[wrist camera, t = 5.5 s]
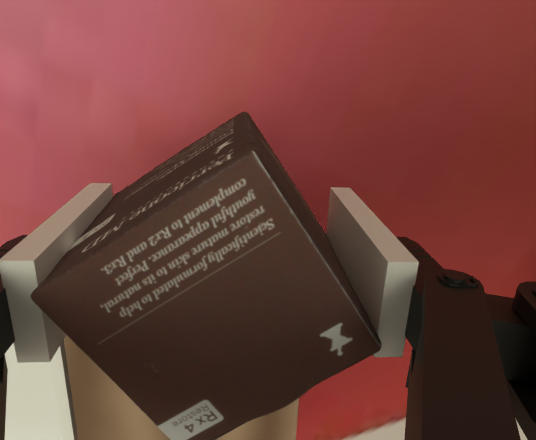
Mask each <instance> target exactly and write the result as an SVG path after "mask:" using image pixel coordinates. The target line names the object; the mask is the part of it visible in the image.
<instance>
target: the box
mask: <svg viewBox="0 0 536 440" xmlns="http://www.w3.org/2000/svg"><path fill="white" fill-rule="evenodd" d="M30 297H31V299H32V301H33V302H34V303H35V304H36V305H37V306H38V307H39V308H40V309H41V310H42V311H43V312H44V313H45V314H46V315H47V316H48V317H49V318H50V319H51V320H52V321H53V322H54V323H55V324H56V325H57V326H58V327H59V328H60V329H61V330H62V331H63V332H64V333H65V334H66V335H67V336H68V337H69V338H70V339H71V340H72V341H73V342H74V343H75V344H76V345H77V346H78V347H79V348H80V349H81V350H82V351H83V352H84V353H85V354H86V355H87V356H88V357H89V358H90V359H91V360H92V361H93V362H94V363H95V364H96V365H97V366H98V367H99V368H100V369H101V370H102V371H103V372H104V373H105V374H106V375H107V376H108V377H109V378H110V379H111V380H112V381H113V382H115V384H116V385H117V386H118V387H119V388H120V389H121V390H122V391H123V392H124V393H125V394H126V395H127V396H128V397H129V398H130V399H131V400H132V401H133V402H134V403H135V404H136V405H137V406H138V407H139V408H140V410H142V411H143V412H144V413H145V414H146V415H147V416H148V417H149V418H150V419H151V420H152V421H153V423H154V424H155V425H156V426H157V427H158V428H159V429H160V430H161V431H162V432H163V433H164V434H165V435H166V436H167V437H168V438H169V439H171V440H216V439H218V438H220V437H222V436H224V435H225V434H227V433H229V432H231V431H232V430H234V429H235V428H238V427H239V426H241V425H243V424H245V423H247V422H249V421H251V420H253V419H256V418H259V417H261V416H265V415H268V414H270V413H273V412H275V411H278V410H280V409H282V408H284V407H286V406H288V405H289V404H291V403H292V402H294V401H295V400H297V399H298V398H300V397H301V396H302V395H303V394H304V393H306V392H307V391H308V390H309V389H310V388H312V387H313V386H315V385H316V384H318V383H320V382H322V381H324V380H326V379H327V378H329V377H331V376H333V375H335V374H337V373H339V372H341V371H343V370H345V369H346V368H348V367H350V366H352V365H354V364H356V363H358V362H360V361H362V360H363V359H365V358H367V357H369V356H371V355H373V354H375V353H377V352H379V351H380V349H381V346H382V345H381V341H380V338H379V336H378V334H377V332H376V330H375V328H374V327H373V325H372V323H371V321H370V319H369V316H368V314H367V312H366V311H365V309H364V307H363V305H362V304H361V302H360V300H359V298H358V296H357V295H356V293H355V291H354V289H353V288H352V286H351V283H350V281H349V280H348V278H347V276H346V274H345V271H344V269H343V268H342V266H341V263H340V262H339V259H338V257H337V256H336V253H335V251H334V249H333V247H332V245H331V243H330V241H329V239H328V238H327V236H326V234H325V232H324V231H323V229H322V227H321V226H320V224H319V223H318V221H317V219H316V218H315V216H314V214H313V213H312V211H311V210H310V208H309V207H308V205H307V203H306V202H305V200H304V199H303V197H302V195H301V194H300V192H299V191H298V189H297V187H296V186H295V184H294V183H293V181H292V180H291V178H290V177H289V175H288V174H287V172H286V170H285V169H284V167H283V166H282V164H281V163H280V161H279V160H278V158H277V156H276V155H275V154H274V152H273V151H272V149H271V148H270V146H269V144H268V143H267V141H266V140H265V138H264V137H263V135H262V134H261V132H260V131H259V129H258V128H257V126H256V125H255V123H254V122H253V120H252V118H251V117H250V115H249V114H248V113H247V112H242V113H240V114H238V115H237V116H235V117H234V118H232V119H230V120H229V121H227V122H226V123H224V124H222V125H221V126H219V127H218V128H216V129H215V130H213V131H211V132H210V133H208V134H207V135H206V136H204V137H202V138H200V139H199V140H197V141H196V142H194V143H192V144H191V145H190V146H188V147H186V148H184V149H182V150H181V151H180V152H178V153H177V154H176V155H174V156H173V157H171V158H170V159H168V160H167V161H165V162H164V163H162V164H160V165H159V166H157V167H156V168H154V169H153V170H152V171H150V172H149V173H147V174H146V175H144V176H142V177H141V178H140V179H138V180H137V181H136V182H134V183H133V184H131V185H130V186H127V187H126V188H125V189H123V190H122V191H120V192H118V193H117V194H115V195H114V197H113V198H112V199H111V200H110V202H109V203H108V204H107V205H106V206H105V208H104V209H103V210H102V211H101V212H100V213H99V214H98V215H97V216H96V218H95V219H94V220H93V222H92V223H91V224H90V225H89V226H88V228H87V229H86V230H85V231H84V232H83V234H82V235H81V236H80V237H79V238H78V240H77V241H76V242H75V243H74V244H73V245H72V247H71V248H70V249H69V250H68V251H67V252H66V254H65V255H64V256H63V257H62V259H61V260H60V261H59V263H58V264H57V265H56V266H55V267H54V269H53V271H52V272H51V273H50V274H49V275H48V276H47V277H46V279H45V280H44V281H43V282H42V283H41V284H40V285H39V286H38V287H37V288H36V289H35V290H34V291H33V292H32V293H31V295H30Z"/></svg>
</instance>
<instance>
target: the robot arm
mask: <svg viewBox="0 0 536 440" xmlns="http://www.w3.org/2000/svg"><path fill="white" fill-rule="evenodd" d="M112 198H113V191H112V183H90V184H89V185H88V186H86V187H85V188H84V189H83V190H82V191H80V192H79V193H78V194H77V195H76V196H74V197H73V198H72V199H71V200H70V201H68V202H67V203H66V204H65V205H64V206H62V207H61V208H60V209H59V210H58V211H57V212H55V213H54V214H53V215H52V216H51V217H49V218H48V219H47V220H46V221H45V222H43V223H42V224H41V225H40V226H39V227H37V228H36V229H35V230H34V231H33V232H32V233H30V234H29V235H22V236H19V237H17V238H15V239H12V240H10V241H8V242H6V243H5V244H4V245H2V246H1V247H0V440H5V419H6V397H7V374H8V369H7V364H6V359H5V353H6V352H7V350H8V349H9V348H10V346H11V345H12V344H13V343H14V346H15V352H16V357H17V362H18V363H23V362H50V361H51V360H52V358H53V356H54V355H55V353H56V351H57V350H58V348H59V347H60V345H61V343H62V342H63V340H64V338H65V337H66V334H65V333H64V332H63V331H62V330H61V329H60V328H59V327H58V326H57V325H56V324H55V323H54V322H53V321H52V320H51V319H50V318H49V317H48V316H47V315H46V314H45V313H44V312H43V311H42V310H41V309H40V308H39V307H38V306H37V305H36V304H35V303H34V302H33V301H32V299H31V297H30V295H31V293H32V292H33V291H34V290H35V289H36V288H37V287H38V286H39V285H40V284H41V283H42V282H43V281H44V280H45V279H46V277H47V276H48V275H49V274H50V273H51V272H52V271H53V269H54V267H55V266H56V265H57V264H58V263H59V261H60V260H61V259H62V257H63V256H64V255H65V254H66V252H67V251H68V250H69V249H70V248H71V247H72V245H73V244H74V243H75V242H76V241H77V240H78V238H79V237H80V236H81V235H82V234H83V232H84V231H85V230H86V229H87V228H88V226H89V225H90V224H91V223H92V222H93V220H94V219H95V218H96V216H97V215H98V214H99V213H100V212H101V211H102V210H103V209H104V208H105V206H106V205H107V204H108V203H109V202H110V200H111V199H112ZM326 236H327V238H328V239H329V241H330V243H331V245H332V247H333V249H334V251H335V253H336V256H337V257H338V259H339V262H340V263H341V266H342V268H343V269H344V271H345V274H346V276H347V278H348V280H349V281H350V283H351V286H352V288H353V289H354V291H355V293H356V295H357V296H358V298H359V300H360V302H361V304H362V305H363V307H364V309H365V311H366V312H367V314H368V316H369V319H370V321H371V323H372V325H373V327H374V328H375V330H376V332H377V334H378V336H379V338H380V341H381V345H382V346H381V349H380V351H379V352H377V353H375V354H373V356H374V357H403V351H404V345H405V339H406V338H407V339H408V341H409V342H410V344H411V346H412V347H413V349H412V355H411V360H410V366H409V371H408V377H407V382H406V387H407V388H408V399H407V413H406V428H405V440H520V435H519V431H518V428H517V423H516V420H517V422H518V423H519V425H520V427H521V429H522V430H523V432H524V434H525V436H526V437H527V439H528V440H536V282H524V283H520V284H519V285H518V287H517V291H516V294H515V298H509V297H503V296H497V295H490V294H486V293H485V292H484V288H483V285H482V284H481V282H480V281H479V280H477V279H476V278H474V277H473V276H470V275H468V274H466V273H463V272H459V271H455V270H448V269H443V268H442V267H441V266H440V265H439V264H438V263H437V262H436V261H435V260H434V259H433V258H431V256H430V255H429V254H428V253H427V252H425V250H424V249H423V248H422V247H421V246H420V245H419V244H418V243H416V242H414V241H412V240H410V239H408V238H406V237H395V236H394V235H393V234H392V232H391V231H390V230H389V229H388V228H387V227H386V226H385V225H384V224H383V223H382V222H381V221H380V219H379V218H378V217H377V216H376V215H375V214H374V213H373V212H372V211H371V210H370V209H369V208H368V207H367V205H366V204H365V203H364V202H363V201H362V200H361V199H360V198H359V197H358V196H357V195H356V194H355V193H354V191H353V190H352V189H351V188H341V187H330V198H329V209H328V220H327V231H326ZM515 418H516V419H515Z"/></svg>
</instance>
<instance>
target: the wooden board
mask: <svg viewBox="0 0 536 440" xmlns="http://www.w3.org/2000/svg"><path fill="white" fill-rule="evenodd" d="M64 346H65V353H66V359H67V366H68V373H69V380H70V387H71V393H72V400H73V407H74V414H75V421H76V428H77V434H78V440H171V439H169V438H168V437H167V436H166V435H165V434H164V433H163V432H162V431H161V430H160V429H159V428H158V427H157V426H156V425H155V424H154V423H153V421H152V420H151V419H150V418H149V417H148V416H147V415H146V414H145V413H144V412H143V411H142V410H140V408H139V407H138V406H137V405H136V404H135V403H134V402H133V401H132V400H131V399H130V398H129V397H128V396H127V395H126V394H125V393H124V392H123V391H122V390H121V389H120V388H119V387H118V386H117V385H116V384H115V382H113V381H112V380H111V379H110V378H109V377H108V376H107V375H106V374H105V373H104V372H103V371H102V370H101V369H100V368H99V367H98V366H97V365H96V364H95V363H94V362H93V361H92V360H91V359H90V358H89V357H88V356H87V355H86V354H85V353H84V352H83V351H82V350H81V349H80V348H79V347H78V346H77V345H76V344H75V343H74V342H73V341H72V340H71V339H70V338H69V337H68V336H67V335H66V337H65V338H64ZM298 404H299V398H298V399H297V400H295V401H294V402H292V403H291V404H289V405H288V406H286V407H284V408H282V409H280V410H278V411H275V412H273V413H270V414H268V415H265V416H261V417H259V418H256V419H253V420H251V421H249V422H247V423H245V424H243V425H241V426H239V427H238V428H235V429H234V430H232V431H231V432H229V433H227V434H225V435H224V436H222V437H220V438H218V439H216V440H296V429H297V416H298Z"/></svg>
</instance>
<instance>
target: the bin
mask: <svg viewBox="0 0 536 440" xmlns="http://www.w3.org/2000/svg"><path fill="white" fill-rule="evenodd" d="M5 359H6V364H7V369H8V374H7V397H6V419H5V440H78V434H77V428H76V421H75V414H74V407H73V400H72V393H71V387H70V380H69V373H68V366H67V359H66V353H65V346H64V340H63V342H62V343H61V345H60V347H59V348H58V350H57V351H56V353H55V355H54V356H53V358H52V360H51V361H50V362H23V363H18V362H17V357H16V352H15V346H14V343H13V344H12V345H11V346H10V348H9V349H8V350H7V352H6V353H5Z"/></svg>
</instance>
